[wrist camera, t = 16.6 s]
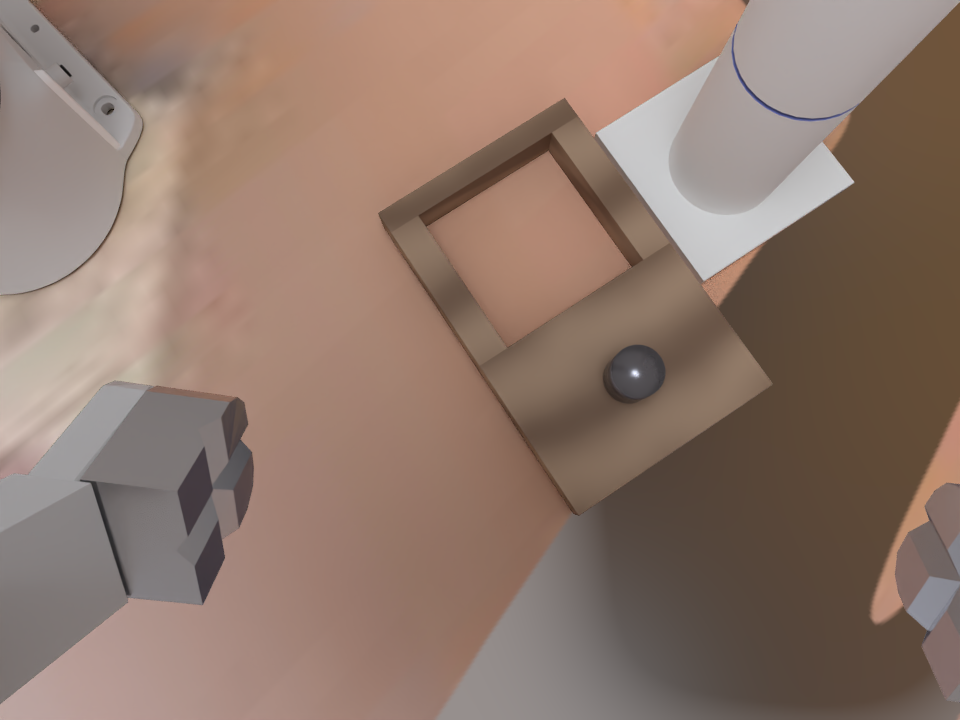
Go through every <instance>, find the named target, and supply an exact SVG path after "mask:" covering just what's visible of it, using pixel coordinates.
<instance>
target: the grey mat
mask: <svg viewBox="0 0 960 720" xmlns="http://www.w3.org/2000/svg"><path fill="white" fill-rule="evenodd" d="M718 58H719V56H718V57H717V58H715V59H713V60H712V61H710V62H709V63H707V64H705V65H704V66H702V67H701V68H699V69H697V70H696V71H694V72H693V73H691V74H689V75H688V76H686V77H685V78H683V79H681V80H680V81H678V82H677V83H675V84H673V85H672V86H670V87H669V88H667V89H665V90H664V91H662V92H661V93H659V94H657V95H656V96H654V97H653V98H651V99H649V100H648V101H646V102H645V103H643V104H641V105H640V106H638V107H637V108H635V109H633V110H632V111H630V112H629V113H627V114H625V115H624V116H622V117H621V118H619V119H617V120H616V121H614V122H613V123H611V124H609V125H608V126H606V127H605V128H603V129H601V130H600V131H598V132H597V133H596V134H595V137H594V139H595V140H596V142H597V143H598V145H599V146H600V147H601V149H602V150H603V151H604V153H605V154H606V156H607V157H608V158H609V160H610V161H611V162H612V164H613V165H614V166H615V168H616V169H617V171H618V172H619V173H620V175H621V176H622V177H623V179H624V180H625V182H626V183H627V184H628V186H629V187H630V188H631V190H632V191H633V193H634V194H635V195H636V197H637V198H638V199H639V201H640V202H641V204H642V205H643V206H644V208H645V209H646V210H647V212H648V213H649V215H650V216H651V217H652V219H653V220H654V221H655V223H656V224H657V226H658V227H659V228H660V230H661V231H662V232H663V234H664V235H665V237H666V238H667V239H668V241H669V242H670V243H671V245H672V246H673V248H674V249H675V250H676V252H677V253H678V254H679V256H680V257H681V259H682V260H683V261H684V263H685V264H686V265H687V267H688V268H689V270H690V271H691V272H692V274H693V275H694V276H695V278H696V279H697V281H698V282H699V283H700V284H702V283H703V282H705V281H706V280H708V279H709V278H711V277H712V276H714V275H715V274H717V273H718V272H720V271H721V270H723V269H724V268H726V267H727V266H729V265H731V264H732V263H734V262H735V261H737V260H738V259H740V258H741V257H743V256H744V255H746V254H747V253H749V252H750V251H752V250H753V249H755V248H756V247H758V246H759V245H761V244H763V243H764V242H766V241H767V240H769V239H770V238H772V237H773V236H775V235H776V234H777V233H779V232H781V231H782V230H784V229H785V228H787V227H788V226H790V225H791V224H793V223H795V222H796V221H797V220H799V219H801V218H802V217H804V216H805V215H807V214H808V213H810V212H811V211H813V210H814V209H816V208H817V207H819V206H820V205H822V204H823V203H825V202H827V201H828V200H829V199H831V198H833V197H834V196H835V195H837V194H839V193H840V192H842V191H843V190H845V189H846V188H848V187H849V186H850V185H852V184H853V183H854V181H853V180H852V179H851V177H850V176H849V175H848V174H847V172H846V171H845V170H844V169H843V167H842V166H841V165H840V164H839V162H838V161H837V160H836V158H835V157H834V156H833V155H832V153H831V152H830V151H829V149H828V148H827V147H826V146H825V144H824V143H823V142H821V143H820V144H819V145H818V146H817V147H816V148H815V149H814V150H813V151H812V152H811V153H810V154H809V155H808V156H807V157H806V158H805V159H804V160H803V161H802V162H801V163H800V164H799V165H798V166H797V167H796V168H795V169H794V170H793V172H792V173H791V174H790V175H789V176H788V177H787V178H786V179H785V180H784V181H783V182H782V183H781V184H780V185H779V186H778V187H777V188H776V189H775V190H774V191H773V192H772V193H771V194H770V195H769V196H768V197H767V198H766V199H765V200H764V201H763V202H762V203H760V204H759V205H758V206H756V207H755V208H753V209H751V210H749V211H746V212H743V213H740V214H734V215H719V214H713V213H710V212H706V211H703V210H701V209H699V208H698V207H696V206H694V205H692V204H691V203H690V202H689V201H687V200H686V199H685V198H684V197H683V196H682V195H681V193H680V192H679V191H678V189H677V188H676V186H675V184H674V183H673V180H672V177H671V174H670V170H669V151H670V148H671V145H672V142H673V140H674V138H675V136H676V134H677V133H678V131H679V129H680V127H681V125H682V123H683V121H684V120H685V118H686V116H687V114H688V112H689V110H690V109H691V107H692V105H693V103H694V101H695V99H696V98H697V96H698V94H699V92H700V90H701V88H702V87H703V85H704V83H705V81H706V79H707V78H708V76H709V74H710V72H711V70H712V68H713V67H714V65H715V63H716V61H717V59H718Z"/></svg>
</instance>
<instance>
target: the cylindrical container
mask: <svg viewBox="0 0 960 720" xmlns="http://www.w3.org/2000/svg"><path fill="white" fill-rule="evenodd" d="M959 2H960V0H750V1H749V3H748V5H747V7H746V9H745V10H744V12H743V14H742V16H741V18H740V20H739V21H738V23H737V25H736V27H735V29H734V30H733V32H732V34H731V36H730V38H729V40H728V41H727V43H726V45H725V47H724V49H723V50H722V52H721V54H720V56H719V58H718V59H717V61H716V63H715V65H714V67H713V68H712V70H711V72H710V74H709V76H708V78H707V79H706V81H705V83H704V85H703V87H702V88H701V90H700V92H699V94H698V96H697V98H696V99H695V101H694V103H693V105H692V107H691V109H690V110H689V112H688V114H687V116H686V118H685V120H684V121H683V123H682V125H681V127H680V129H679V131H678V133H677V134H676V136H675V138H674V140H673V142H672V145H671V148H670V151H669V170H670V174H671V177H672V180H673V183H674V184H675V186H676V188H677V189H678V191H679V192H680V193H681V195H682V196H683V197H684V198H685V199H686V200H687V201H689V202H690V203H691V204H692V205H694V206H696V207H698V208H699V209H701V210H703V211H706V212H710V213H713V214H719V215H734V214H740V213H743V212H746V211H749V210H751V209H753V208H755V207H756V206H758V205H759V204H760V203H762V202H763V201H764V200H765V199H766V198H767V197H768V196H769V195H770V194H771V193H772V192H773V191H774V190H775V189H776V188H777V187H778V186H779V185H780V184H781V183H782V182H783V181H784V180H785V179H786V178H787V177H788V176H789V175H790V174H791V173H792V172H793V170H794V169H795V168H796V167H797V166H798V165H799V164H800V163H801V162H802V161H803V160H804V159H805V158H806V157H807V156H808V155H809V154H810V153H811V152H812V151H813V150H814V149H815V148H816V147H817V146H818V145H819V144H820V143H821V142H822V141H823V140H824V139H825V138H826V137H827V136H828V135H829V134H830V133H831V132H832V131H833V130H834V129H835V128H836V127H837V126H838V125H839V124H840V123H841V122H842V121H843V120H844V119H845V118H846V117H847V116H848V115H849V114H850V113H851V112H852V111H853V110H854V109H855V108H856V107H857V106H858V105H859V104H860V102H862V100H863V99H864V98H865V97H866V96H867V95H868V94H869V93H870V92H871V91H872V90H873V89H874V88H875V87H876V86H877V85H878V84H879V83H880V82H881V81H882V80H883V79H884V78H885V77H886V76H887V75H888V74H889V73H890V72H891V71H892V70H893V69H894V68H895V67H896V66H897V65H898V64H899V63H900V62H901V61H902V60H903V59H904V58H905V57H906V56H907V55H908V54H909V53H910V52H911V51H912V50H913V49H914V48H915V47H916V45H918V44H919V43H920V42H921V40H922V39H923V38H925V37H926V36H927V35H928V34H929V32H931V30H933V28H934V27H935V26H936V25H937V24H938V23H939V22H940V21H941V20H942V19H943V18H944V17H945V16H946V15H947V14H948V13H949V12H950V11H951V10H952V9H953V8H954V7H955V6H956V5H957V4H958V3H959Z"/></svg>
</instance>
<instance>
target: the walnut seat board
mask: <svg viewBox="0 0 960 720" xmlns="http://www.w3.org/2000/svg"><path fill="white" fill-rule="evenodd" d="M548 150H549V152H550V153H551V154H552V156H553V157H554V158H555V160H556V161H557V163H558V164H559V165H560V167H561V168H562V170H563V171H564V172H565V174H566V175H567V177H568V178H569V179H570V181H571V182H572V184H573V185H574V186H575V188H576V189H577V191H578V192H579V193H580V195H581V196H582V198H583V199H584V200H585V202H586V203H587V205H588V206H589V207H590V209H591V210H592V212H593V213H594V214H595V216H596V217H597V219H598V220H599V221H600V223H601V224H602V226H603V227H604V228H605V230H606V231H607V233H608V234H609V235H610V237H611V238H612V240H613V241H614V242H615V244H616V245H617V247H618V248H619V249H620V251H621V252H622V254H623V255H624V256H625V258H626V259H627V261H628V262H629V263H630V265H631V266H632V268H630V269H629V270H627V271H626V272H624V273H622V274H621V275H619V276H618V277H616V278H615V279H613V280H612V281H610V282H609V283H607V284H605V285H604V286H602V287H601V288H599V289H598V290H596V291H595V292H593V293H592V294H590V295H589V296H587V297H585V298H584V299H582V300H581V301H579V302H578V303H576V304H575V305H573V306H572V307H570V308H568V309H567V310H565V311H564V312H562V313H561V314H559V315H558V316H556V317H555V318H553V319H551V320H550V321H548V322H547V323H545V324H544V325H542V326H541V327H539V328H538V329H536V330H534V331H533V332H531V333H530V334H528V335H527V336H525V337H524V338H522V339H521V340H519V341H517V342H516V343H514V344H513V345H511V346H510V347H508V348H507V347H506V345H505V344H504V342H503V341H502V339H501V338H500V336H499V335H498V333H497V332H496V330H495V329H494V327H493V326H492V324H491V323H490V321H489V320H488V318H487V317H486V315H485V314H484V312H483V311H482V309H481V308H480V306H479V305H478V303H477V302H476V300H475V299H474V298H473V296H472V295H471V293H470V292H469V290H468V289H467V287H466V286H465V284H464V283H463V281H462V280H461V278H460V277H459V275H458V274H457V272H456V271H455V269H454V268H453V266H452V265H451V263H450V262H449V260H448V259H447V257H446V256H445V254H444V253H443V251H442V250H441V248H440V247H439V245H438V244H437V242H436V241H435V240H434V238H433V237H432V235H431V234H430V232H429V231H428V229H427V228H426V226H428V225H429V224H431V223H432V222H434V221H436V220H437V219H439V218H440V217H442V216H444V215H445V214H447V213H448V212H450V211H452V210H453V209H455V208H456V207H458V206H460V205H461V204H463V203H464V202H466V201H468V200H469V199H471V198H472V197H474V196H476V195H477V194H479V193H480V192H482V191H484V190H485V189H487V188H488V187H490V186H492V185H493V184H495V183H496V182H498V181H500V180H501V179H503V178H505V177H506V176H508V175H509V174H511V173H513V172H514V171H516V170H517V169H519V168H521V167H522V166H524V165H525V164H527V163H529V162H530V161H532V160H533V159H535V158H537V157H538V156H540V155H541V154H543V153H545V152H546V151H548ZM378 214H379V216H380V219H381V221H382V224H383V226H384V228H385V230H386V231H387V233H388V234H389V236H390V237H391V239H392V240H393V242H394V243H395V245H396V246H397V248H398V249H399V251H400V252H401V254H402V255H403V257H404V258H405V260H406V261H407V263H408V264H409V266H410V267H411V269H412V270H413V272H414V273H415V275H416V276H417V278H418V279H419V281H420V283H421V284H422V286H423V287H424V289H425V290H426V292H427V293H428V295H429V296H430V298H431V299H432V301H433V302H434V304H435V305H436V307H437V308H438V310H439V311H440V313H441V314H442V316H443V317H444V319H445V320H446V322H447V323H448V325H449V326H450V328H451V329H452V331H453V332H454V334H455V335H456V337H457V338H458V340H459V341H460V343H461V344H462V346H463V347H464V349H465V350H466V352H467V353H468V355H469V356H470V358H471V360H472V361H473V363H474V364H475V366H476V367H477V369H478V370H479V372H480V373H481V375H482V376H483V378H484V379H485V381H486V382H487V384H488V385H489V387H490V388H491V390H492V391H493V393H494V394H495V396H496V397H497V399H498V400H499V402H500V403H501V405H502V406H503V408H504V409H505V411H506V412H507V414H508V415H509V417H510V418H511V420H512V421H513V423H514V424H515V426H516V427H517V429H518V430H519V432H520V433H521V435H522V437H523V438H524V440H525V441H526V443H527V444H528V446H529V447H530V449H531V450H532V452H533V453H534V455H535V456H536V458H537V459H538V461H539V462H540V464H541V465H542V467H543V468H544V470H545V471H546V473H547V474H548V476H549V477H550V479H551V480H552V482H553V483H554V485H555V486H556V488H557V489H558V491H559V492H560V494H561V495H562V497H563V498H564V500H565V501H566V503H567V504H568V506H569V507H570V509H571V510H572V512H573V514H575V515H578V516H579V515H581V514H582V513H584V512H585V511H586V510H588V509H589V508H591V507H592V506H594V505H595V504H597V503H598V502H600V501H601V500H603V499H604V498H606V497H607V496H609V495H610V494H612V493H613V492H615V491H616V490H617V489H619V488H621V487H622V486H623V485H625V484H626V483H628V482H629V481H631V480H632V479H634V478H635V477H637V476H638V475H640V474H641V473H643V472H644V471H645V470H647V469H649V468H650V467H651V466H653V465H654V464H656V463H657V462H659V461H660V460H662V459H663V458H665V457H666V456H668V455H669V454H671V453H672V452H674V451H675V450H677V449H678V448H680V447H681V446H683V445H684V444H685V443H687V442H688V441H690V440H691V439H693V438H694V437H696V436H697V435H699V434H700V433H702V432H703V431H705V430H706V429H708V428H709V427H710V426H712V425H713V424H715V423H716V422H718V421H719V420H721V419H722V418H724V417H725V416H727V415H728V414H730V413H731V412H733V411H734V410H736V409H737V408H739V407H740V406H742V405H743V404H745V403H746V402H747V401H749V400H750V399H752V398H753V397H755V396H756V395H758V394H759V393H761V392H762V391H764V390H765V389H767V388H768V387H770V386H771V385H773V384H772V382H771V381H770V379H769V378H768V377H767V375H766V374H765V373H764V371H763V370H762V368H761V367H760V366H759V364H758V363H757V362H756V360H755V359H754V358H753V356H752V355H751V353H750V352H749V351H748V349H747V348H746V347H745V345H744V344H743V342H742V341H741V340H740V338H739V337H738V335H737V334H736V333H735V331H734V330H733V329H732V327H731V326H730V324H729V323H728V322H727V320H726V319H725V318H724V316H723V315H722V314H721V312H720V311H719V309H718V308H717V307H716V305H715V304H714V303H713V301H712V300H711V298H710V297H709V296H708V294H707V293H706V292H705V290H704V289H703V287H702V286H701V285H700V283H699V282H698V281H697V279H696V278H695V276H694V275H693V274H692V272H691V271H690V270H689V268H688V267H687V265H686V264H685V263H684V261H683V260H682V259H681V257H680V256H679V254H678V253H677V252H676V250H675V249H674V248H673V246H672V245H671V243H670V242H669V241H668V239H667V238H666V237H665V235H664V234H663V232H662V231H661V230H660V228H659V227H658V226H657V224H656V223H655V221H654V220H653V219H652V217H651V216H650V215H649V213H648V212H647V210H646V209H645V208H644V206H643V205H642V204H641V202H640V201H639V199H638V198H637V197H636V195H635V194H634V193H633V191H632V190H631V188H630V187H629V186H628V184H627V183H626V182H625V180H624V179H623V177H622V176H621V175H620V173H619V172H618V171H617V169H616V168H615V166H614V165H613V164H612V162H611V161H610V160H609V158H608V157H607V156H606V154H605V153H604V151H603V150H602V149H601V147H600V146H599V145H598V143H597V142H596V140H595V139H594V138H593V136H592V135H591V134H590V132H589V131H588V129H587V128H586V127H585V125H584V124H583V123H582V121H581V120H580V118H579V117H578V116H577V114H576V113H575V112H574V110H573V109H572V107H571V106H570V105H569V103H568V102H567V101H566V99H565V98H564V99H562V100H560V101H559V102H557V103H556V104H554V105H552V106H551V107H549V108H548V109H546V110H544V111H543V112H541V113H539V114H538V115H536V116H535V117H533V118H531V119H530V120H528V121H526V122H525V123H523V124H522V125H520V126H518V127H517V128H515V129H514V130H512V131H510V132H509V133H507V134H505V135H504V136H502V137H501V138H499V139H497V140H496V141H494V142H493V143H491V144H489V145H488V146H486V147H484V148H483V149H481V150H480V151H478V152H476V153H475V154H473V155H471V156H470V157H468V158H467V159H465V160H463V161H462V162H460V163H459V164H457V165H455V166H454V167H452V168H450V169H449V170H447V171H446V172H444V173H442V174H441V175H439V176H438V177H436V178H434V179H433V180H431V181H429V182H428V183H426V184H425V185H423V186H421V187H420V188H418V189H416V190H415V191H413V192H412V193H410V194H408V195H407V196H405V197H404V198H402V199H400V200H399V201H397V202H395V203H394V204H392V205H391V206H389V207H387V208H386V209H384V210H383V211H381V212H379V213H378Z"/></svg>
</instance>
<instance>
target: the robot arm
mask: <svg viewBox="0 0 960 720" xmlns="http://www.w3.org/2000/svg"><path fill="white" fill-rule="evenodd" d="M112 108H114V111H113V113H111V114H109V115H107V112H108V110H110V109H112ZM142 127H143V122H142V119H141V116H140V115H139V114H138V112H137V111H136V110H135V109H134V108H133V107H132V106H131V105H130V104H129V103H128V102H127V101H126V100H125V99H124V98H123V97H122V96H121V95H120V94H119V93H118V92H117V91H116V90H115V89H114V88H113V86H112V85H111V84H110V83H109V82H108V81H107V80H106V79H105V78H104V77H103V76H102V75H101V74H100V73H99V72H98V71H97V70H96V69H95V68H94V67H93V66H92V65H91V64H90V63H89V62H88V61H87V60H86V59H85V57H84V56H83V55H82V54H81V53H80V52H79V51H78V50H77V49H76V48H75V47H74V46H73V45H72V44H71V43H70V42H69V41H68V40H67V39H66V38H65V37H64V36H63V35H62V34H61V33H60V32H59V31H58V30H57V29H56V27H55V26H54V25H53V24H52V23H51V22H50V21H49V20H48V19H47V18H46V17H45V16H44V15H43V14H42V13H41V12H40V11H39V10H38V9H37V8H36V7H35V6H34V5H33V4H32V3H31V2H30V1H29V0H0V295H7V294H18V293H23V292H28V291H32V290H36V289H39V288H42V287H44V286H47V285H49V284H52V283H54V282H56V281H58V280H60V279H61V278H63V277H65V276H66V275H68V274H70V273H71V272H72V271H74V270H75V269H77V268H78V267H79V266H80V265H81V264H83V263H84V262H85V261H86V260H87V259H88V258H89V257H90V256H91V255H92V254H93V253H94V252H95V251H96V249H97V248H98V247H99V246H100V244H101V243H102V242H103V240H104V239H105V237H106V236H107V234H108V232H109V230H110V229H111V227H112V225H113V223H114V220H115V218H116V215H117V212H118V209H119V206H120V202H121V197H122V191H123V181H124V171H125V166H126V162H127V159H128V158H129V156H130V154H131V152H132V151H133V149H134V147H135V145H136V143H137V141H138V139H139V137H140V134H141V131H142ZM247 425H248V421H247V415H246V410H245V404H244V402H243V401H242V400H240V399H239V398H238V397H232V396H225V395H218V394H211V393H204V392H197V391H190V390H183V389H176V388H169V387H162V386H155V387H154V386H150V385H143V384H136V383H129V382H122V381H113V382H110V383H108V384H105V385H103V386H102V387H101V388H100V389H99V391H98V392H97V393H96V394H95V395H94V397H93V398H92V399H91V400H90V401H89V403H88V404H87V405H86V406H85V407H84V408H83V410H82V411H81V412H80V413H79V414H78V416H77V417H76V418H75V419H74V420H73V421H72V423H71V424H70V425H69V426H68V427H67V429H66V430H65V431H64V432H63V433H62V435H61V436H60V437H59V438H58V439H57V440H56V442H55V443H54V444H53V445H52V446H51V448H50V449H49V450H48V451H47V452H46V454H45V455H44V456H43V457H42V458H41V459H40V461H39V462H38V463H37V464H36V465H35V467H34V468H33V469H32V470H31V471H30V473H29V474H28V475H23V474H12V475H10V476H7V477H5V478H3V479H1V480H0V704H1V703H2V702H3V701H5V700H6V699H7V698H8V697H10V696H11V695H12V694H13V693H15V692H16V691H17V690H18V689H20V688H21V687H22V686H23V685H25V684H26V683H27V682H28V681H30V680H31V679H32V678H34V677H35V676H36V675H37V674H39V673H40V672H41V671H42V670H44V669H45V668H46V667H47V666H49V665H50V664H51V663H52V662H54V661H55V660H56V659H57V658H59V657H60V656H61V655H62V654H64V653H65V652H66V651H67V650H69V649H70V648H71V647H72V646H74V645H75V644H76V643H77V642H79V641H80V640H81V639H82V638H84V637H85V636H86V635H87V634H89V633H90V632H91V631H92V630H94V629H95V628H96V627H97V626H99V625H100V624H101V623H102V622H104V621H105V620H106V619H108V618H109V617H110V616H111V615H113V614H114V613H115V612H116V611H118V610H119V609H120V608H121V607H123V606H124V605H125V604H126V603H128V598H137V599H147V600H157V601H167V602H177V603H187V604H197V605H203V603H204V601H205V599H206V597H207V595H208V593H209V591H210V589H211V587H212V584H213V582H214V580H215V578H216V576H217V574H218V572H219V570H220V568H221V565H222V563H223V561H224V559H225V555H224V549H223V543H222V539H223V538H225V537H226V536H228V535H229V534H231V533H232V532H234V531H235V530H237V529H238V528H239V527H240V525H241V522H242V520H243V518H244V515H245V513H246V511H247V508H248V504H249V500H250V496H251V492H252V487H253V472H254V466H253V458H252V452H251V451H250V450H249V449H248V448H247V446H246V445H245V444H244V443H243V442H242V441H241V440H240V439H241V437H242V435H243V433H244V431H245V429H246V427H247ZM925 509H926V512H927V515H928V518H929V520H930V521H928V522H927V523H925V524H923V525H921V526H919V527H917V528H915V529H914V530H912V531H910V532H908V534H907V536H906V537H905V539H904V541H903V543H902V545H901V546H900V548H899V550H898V552H897V560H896V569H895V578H896V583H897V589H898V593H899V596H900V598H901V600H902V603H903V605H904V608H905V610H906V611H907V612H908V614H910V615H911V616H912V617H913V618H914V619H915V620H916V621H917V622H919V623H920V624H921V625H922V626H923V627H924V628H925V629H926V630H927V632H926V635H925V638H924V640H923V643H922V648H923V650H924V653H925V655H926V657H927V659H928V661H929V664H930V666H931V668H932V670H933V673H934V675H935V677H936V679H937V682H938V684H939V686H940V688H941V690H942V693H943V695H944V697H945V699H946V700H947V701H954V702H960V484H953V483H945V484H944V485H942V486H941V487H939V488H938V489H936V490H935V491H934V492H933V494H932V495H931V497H930V498H929V500H928V501H927V503H926V505H925Z"/></svg>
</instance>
